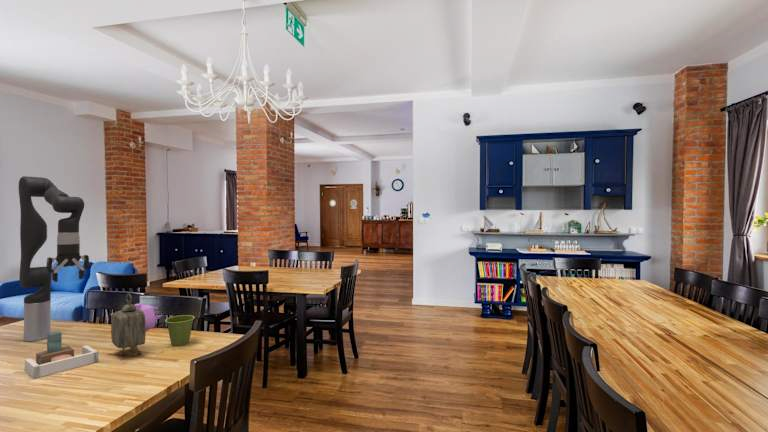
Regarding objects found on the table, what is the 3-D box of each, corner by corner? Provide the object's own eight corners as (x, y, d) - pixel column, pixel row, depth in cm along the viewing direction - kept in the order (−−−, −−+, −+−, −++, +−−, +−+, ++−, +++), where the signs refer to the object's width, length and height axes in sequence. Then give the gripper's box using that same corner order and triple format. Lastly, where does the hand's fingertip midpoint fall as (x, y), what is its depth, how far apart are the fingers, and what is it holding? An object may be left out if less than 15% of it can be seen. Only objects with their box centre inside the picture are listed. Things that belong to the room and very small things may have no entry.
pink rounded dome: (48, 365, 146) (48, 358, 146) (68, 360, 151) (68, 353, 151) (54, 369, 143) (54, 361, 143) (74, 364, 148) (74, 356, 148)
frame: (24, 370, 142) (24, 359, 142) (86, 354, 157) (86, 345, 157) (34, 378, 134) (34, 367, 134) (98, 361, 150) (98, 351, 150)
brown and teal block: (36, 363, 149) (36, 334, 149) (68, 355, 157) (68, 328, 157) (41, 367, 145) (41, 338, 145) (74, 359, 153) (74, 331, 153)
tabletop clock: (145, 355, 157) (145, 294, 157) (119, 361, 151) (119, 298, 151) (135, 346, 167) (135, 289, 167) (110, 352, 161) (110, 292, 160)
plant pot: (158, 345, 168) (158, 320, 168) (182, 337, 179) (182, 314, 179) (178, 349, 164) (178, 323, 164) (200, 341, 175) (200, 316, 175)
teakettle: (164, 323, 203) (164, 300, 203) (143, 333, 186) (143, 308, 186) (132, 323, 204) (132, 300, 204) (108, 333, 187) (108, 307, 187)
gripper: (85, 241, 172) (85, 277, 173) (44, 243, 161) (44, 281, 161) (91, 242, 168) (91, 279, 168) (49, 244, 157) (49, 283, 157)
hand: (68, 280), depth 165 cm, fingers open, 8 cm apart
